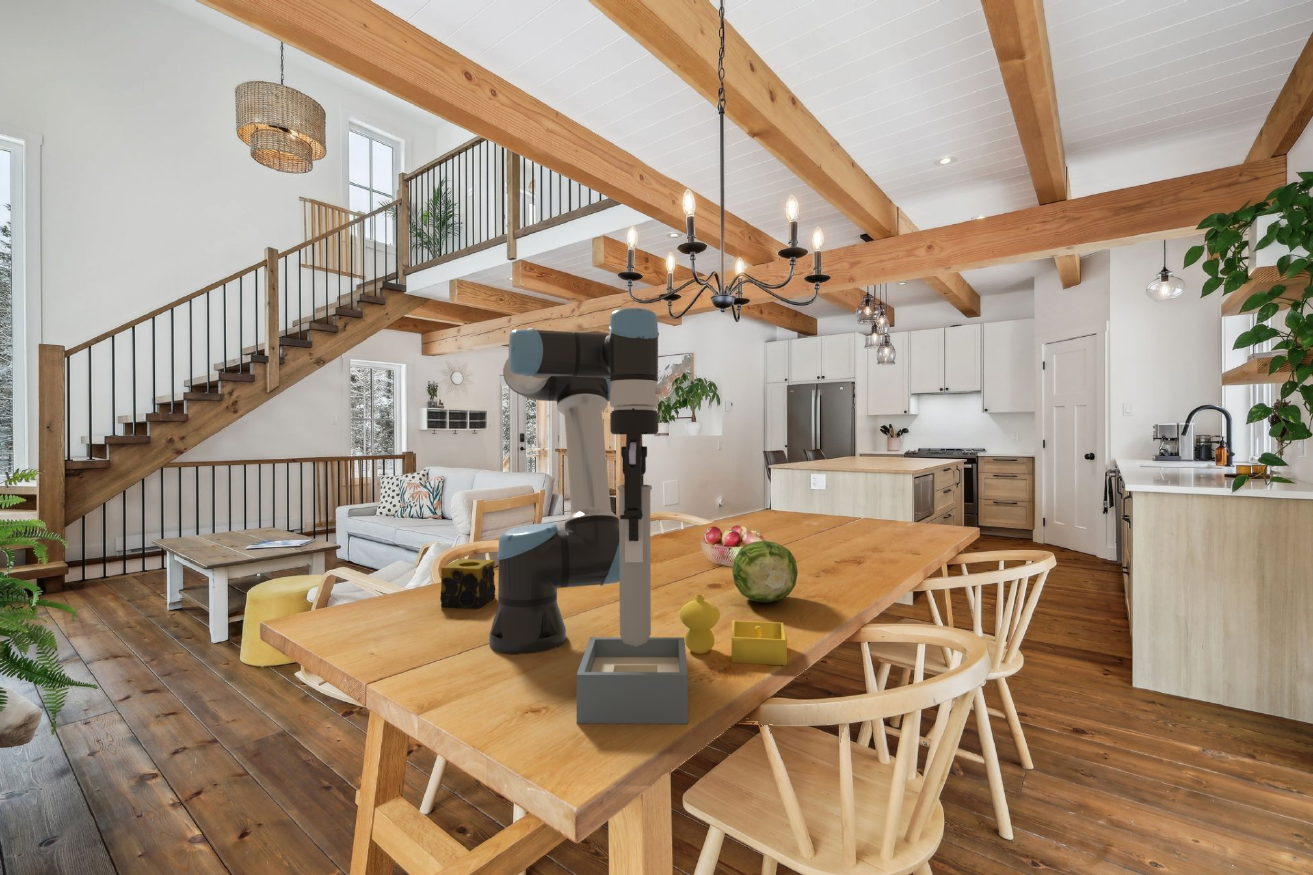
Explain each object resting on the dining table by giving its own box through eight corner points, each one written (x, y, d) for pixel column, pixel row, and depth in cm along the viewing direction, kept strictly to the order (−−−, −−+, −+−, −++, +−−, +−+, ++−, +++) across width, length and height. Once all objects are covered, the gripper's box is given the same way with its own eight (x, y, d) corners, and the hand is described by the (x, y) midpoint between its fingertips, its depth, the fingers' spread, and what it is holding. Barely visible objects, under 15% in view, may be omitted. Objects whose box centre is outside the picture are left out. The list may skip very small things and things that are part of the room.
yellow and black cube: (458, 597, 154) (458, 558, 154) (496, 598, 153) (496, 559, 153) (439, 608, 144) (439, 567, 144) (478, 610, 142) (478, 568, 142)
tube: (653, 651, 91) (653, 486, 91) (618, 652, 90) (618, 487, 91) (650, 639, 96) (650, 484, 96) (617, 640, 96) (617, 484, 96)
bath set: (783, 645, 118) (783, 591, 118) (787, 665, 107) (786, 606, 107) (682, 641, 121) (682, 588, 121) (676, 660, 110) (676, 602, 110)
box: (576, 723, 86) (576, 674, 86) (590, 678, 102) (590, 637, 102) (687, 724, 85) (687, 675, 85) (684, 678, 101) (684, 637, 101)
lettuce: (738, 618, 135) (738, 550, 135) (727, 593, 156) (727, 535, 156) (809, 617, 135) (809, 550, 135) (789, 593, 156) (789, 535, 156)
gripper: (657, 406, 84) (658, 570, 84) (658, 411, 102) (659, 547, 102) (604, 406, 85) (605, 570, 85) (615, 412, 102) (615, 547, 102)
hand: (634, 557), depth 93 cm, fingers closed on tube, 5 cm apart
